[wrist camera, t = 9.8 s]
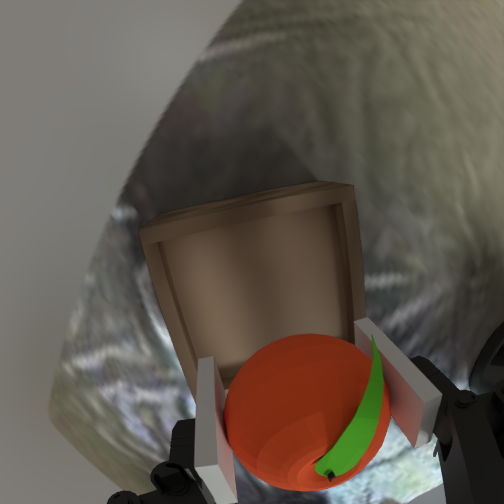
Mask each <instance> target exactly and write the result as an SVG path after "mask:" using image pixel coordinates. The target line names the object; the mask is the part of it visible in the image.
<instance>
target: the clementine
mask: <svg viewBox="0 0 504 504" xmlns="http://www.w3.org/2000/svg"><path fill="white" fill-rule="evenodd" d="M371 337H372V348H373V361H372V360H371V359H370V358H369V357H368V356H367V355H366V354H365V353H363V352H362V351H361V350H360V349H359V348H357V347H356V346H355V345H354V344H352V343H349V342H347V341H344V340H342V339H340V338H337V337H333V336H328V335H321V334H313V333H308V334H298V335H291V336H288V337H285V338H282V339H279V340H276V341H273V342H272V343H270V344H268V345H267V346H265V347H263V348H261V349H260V350H258V351H257V352H256V353H255V354H254V355H253V356H251V357H250V358H249V359H248V360H247V361H246V362H245V363H244V365H243V366H242V367H241V369H240V370H239V372H238V374H237V375H236V377H235V378H234V380H233V381H232V383H231V384H230V386H229V390H228V394H227V398H226V401H225V408H224V423H225V429H226V434H227V438H228V442H229V445H230V447H231V448H232V450H233V452H234V453H235V455H236V457H237V458H238V459H239V461H240V462H241V463H242V464H243V466H244V467H245V468H246V469H247V470H248V471H249V472H251V473H252V474H253V475H255V476H256V477H257V478H259V479H261V480H263V481H264V482H266V483H268V484H270V485H272V486H275V487H278V488H281V489H287V490H295V491H318V490H323V489H328V488H331V487H334V486H337V485H339V484H341V483H343V482H345V481H347V480H349V479H351V478H352V477H353V476H355V475H356V474H358V473H359V472H360V471H361V470H362V469H363V468H364V467H365V466H366V465H367V464H368V463H369V462H370V461H371V460H372V459H373V458H374V457H375V455H376V454H377V452H378V451H379V449H380V448H381V446H382V444H383V441H384V438H385V436H386V432H387V429H388V426H389V423H390V420H391V412H390V396H389V389H388V387H387V385H386V383H385V381H384V378H383V372H382V363H381V358H380V355H379V352H378V349H377V346H376V343H375V341H374V338H373V335H371Z"/></svg>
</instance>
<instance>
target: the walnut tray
mask: <svg viewBox="0 0 504 504" xmlns="http://www.w3.org/2000/svg"><path fill="white" fill-rule="evenodd" d="M138 232H139V236H140V240H141V243H142V247H143V251H144V254H145V258H146V261H147V265H148V268H149V272H150V275H151V279H152V282H153V285H154V288H155V292H156V295H157V298H158V301H159V304H160V308H161V311H162V314H163V317H164V320H165V323H166V326H167V329H168V332H169V334H170V337H171V340H172V343H173V346H174V349H175V351H176V354H177V357H178V360H179V362H180V365H181V368H182V370H183V373H184V376H185V378H186V381H187V383H188V386H189V388H190V391H191V393H192V396H193V398H194V401H195V403H196V394H197V373H198V359H201V358H206V357H211V356H214V358H215V362H216V365H217V368H218V371H219V374H220V377H221V380H222V383H223V387H224V390H225V393H226V396H227V394H228V390H229V386H230V384H231V383H232V381H233V380H234V378H235V377H236V375H237V374H238V372H239V370H240V369H241V367H242V366H243V365H244V363H245V362H246V361H247V360H248V359H249V358H250V357H251V356H253V355H254V354H255V353H256V352H257V351H258V350H260V349H261V348H263V347H265V346H267V345H268V344H270V343H272V342H273V341H276V340H279V339H282V338H285V337H288V336H291V335H298V334H308V333H313V334H321V335H328V336H333V337H337V338H340V339H342V340H344V341H347V342H349V343H352V344H354V345H355V331H354V321H356V320H360V319H363V318H366V301H365V285H364V272H363V260H362V250H361V240H360V231H359V222H358V214H357V206H356V199H355V192H354V185H350V184H342V183H334V182H325V181H314V182H308V183H303V184H297V185H292V186H287V187H281V188H276V189H271V190H266V191H261V192H256V193H251V194H246V195H242V196H237V197H232V198H227V199H223V200H218V201H214V202H209V203H205V204H200V205H196V206H192V207H187V208H183V209H179V210H175V211H170V212H166V213H162V214H158V215H157V216H156V217H154V218H153V219H152V220H151V221H149V222H148V223H147V224H146V225H144V226H143V227H142V228H140V229H139V230H138Z"/></svg>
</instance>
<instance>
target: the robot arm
mask: <svg viewBox="0 0 504 504" xmlns="http://www.w3.org/2000/svg"><path fill="white" fill-rule="evenodd" d="M354 331H355V346H356V347H357V348H359V349H360V350H361V351H362V352H363V353H365V354H366V355H367V356H368V357H369V358H370V359H371V360H372V361H373V348H372V337H371V335H373V338H374V341H375V343H376V346H377V349H378V352H379V355H380V358H381V363H382V372H383V378H384V381H385V383H386V385H387V387H388V389H389V396H390V412H391V416H392V417H393V418H394V420H395V421H396V423H397V424H398V426H399V427H400V429H401V430H402V432H403V433H404V434H405V436H406V437H407V439H408V440H409V442H410V443H411V445H412V446H413V448H414V449H416V448H418V447H420V446H422V445H424V444H426V443H428V442H430V441H431V438H432V435H433V433H434V434H435V436H436V437H437V438H438V440H437V443H436V446H435V449H434V452H433V457H436V454H437V451H438V456H439V461H440V466H441V472H442V478H443V484H444V490H445V496H446V504H504V323H503V324H502V325H501V326H500V327H499V328H498V329H497V330H496V332H495V333H494V334H493V335H492V337H491V338H490V339H489V341H488V342H487V344H486V345H485V347H484V349H483V350H482V352H481V354H480V356H479V358H478V360H477V362H476V364H475V367H474V369H473V372H472V376H471V381H470V389H471V391H468V390H459V389H458V388H457V387H456V386H455V385H454V384H453V383H452V382H451V381H450V380H449V379H448V378H447V377H446V376H445V375H444V374H443V373H442V372H440V370H439V369H438V368H437V367H435V365H433V364H432V363H431V362H430V361H429V360H428V359H426V358H423V357H421V356H417V357H414V358H412V359H408V358H407V357H406V356H405V355H404V354H403V353H402V352H401V350H400V349H399V348H398V347H397V346H396V345H395V344H394V343H393V342H392V341H391V340H390V339H389V338H388V337H387V336H386V335H385V334H384V333H383V332H382V331H381V330H380V329H379V328H378V327H377V326H376V325H375V324H374V323H373V322H372V321H371V320H370V319H369V318H368V317H366V318H363V319H360V320H356V321H354ZM226 398H227V396H226V393H225V390H224V387H223V383H222V380H221V377H220V374H219V371H218V368H217V365H216V362H215V358H214V356H211V357H206V358H201V359H198V373H197V394H196V418H194V419H187V420H179V421H177V423H176V425H175V426H174V428H173V429H172V437H171V440H172V441H171V446H170V447H171V449H170V456H169V461H165V462H162V463H160V464H159V465H157V466H156V467H155V468H154V469H153V471H152V473H151V475H150V477H151V482H152V483H153V485H154V486H155V487H156V488H157V490H155V491H152V492H149V493H146V494H142V495H139V496H137V495H136V494H135V493H133V492H131V491H120V492H117V493H115V494H113V495H112V496H111V497H110V498H109V499H108V502H107V504H214V500H215V502H216V503H217V504H231V503H238V500H237V491H236V482H235V473H234V464H233V454H232V448H231V447H230V445H229V442H228V438H227V434H226V429H225V423H224V408H225V401H226Z"/></svg>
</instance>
